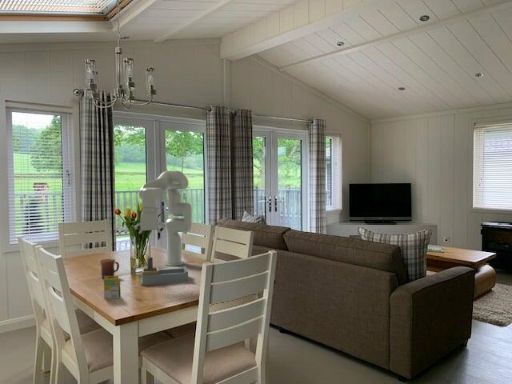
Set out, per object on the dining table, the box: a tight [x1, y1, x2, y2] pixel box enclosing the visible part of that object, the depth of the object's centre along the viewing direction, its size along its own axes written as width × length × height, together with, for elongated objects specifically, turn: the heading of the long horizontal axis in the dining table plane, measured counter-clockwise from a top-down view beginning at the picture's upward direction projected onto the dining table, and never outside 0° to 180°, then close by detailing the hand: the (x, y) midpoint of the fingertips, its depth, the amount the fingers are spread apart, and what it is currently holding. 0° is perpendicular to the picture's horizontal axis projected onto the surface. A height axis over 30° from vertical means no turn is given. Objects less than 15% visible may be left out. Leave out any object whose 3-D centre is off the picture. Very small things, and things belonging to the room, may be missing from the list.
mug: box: [99, 258, 120, 279], centre depth 239 cm, size 12×9×10 cm
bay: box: [140, 266, 189, 286], centre depth 232 cm, size 13×26×6 cm, turn 106°
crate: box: [141, 256, 160, 277], centre depth 229 cm, size 9×9×12 cm
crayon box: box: [103, 275, 121, 300], centre depth 200 cm, size 7×3×12 cm, turn 92°
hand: (149, 239), depth 229 cm, fingers open, 9 cm apart
